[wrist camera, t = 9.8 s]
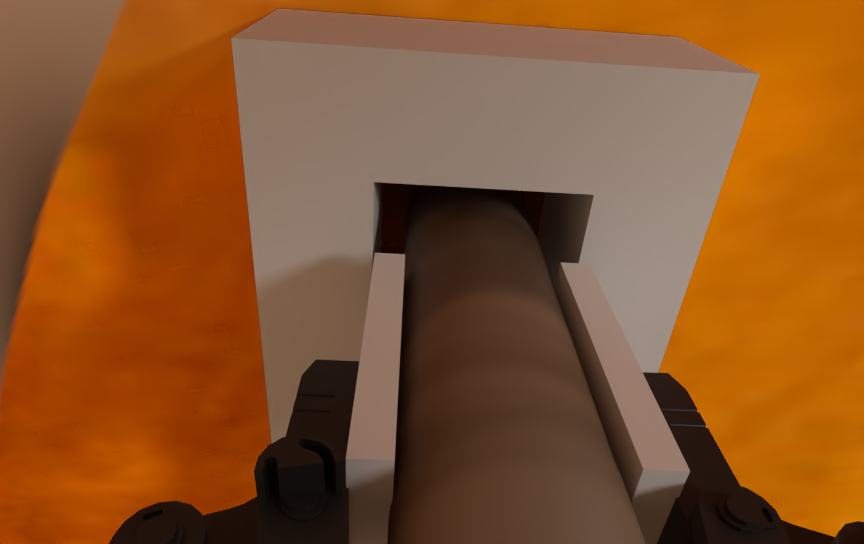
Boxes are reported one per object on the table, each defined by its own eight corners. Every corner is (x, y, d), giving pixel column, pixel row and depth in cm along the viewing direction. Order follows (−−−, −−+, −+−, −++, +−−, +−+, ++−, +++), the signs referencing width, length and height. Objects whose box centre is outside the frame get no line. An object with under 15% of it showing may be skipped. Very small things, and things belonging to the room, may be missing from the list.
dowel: (408, 160, 19) (376, 707, 6) (534, 167, 19) (780, 714, 6) (403, 269, 21) (370, 854, 8) (516, 275, 21) (670, 856, 8)
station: (278, 8, 17) (-141, 267, 4) (678, 37, 18) (1340, 340, 5) (304, 453, 27) (197, 946, 14) (565, 462, 27) (693, 944, 15)
